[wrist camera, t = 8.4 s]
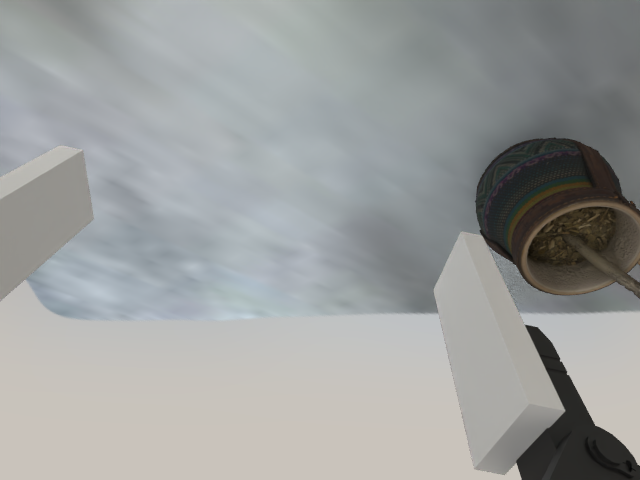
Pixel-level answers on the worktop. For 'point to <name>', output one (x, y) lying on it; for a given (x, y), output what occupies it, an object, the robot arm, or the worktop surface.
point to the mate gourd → (559, 217)
